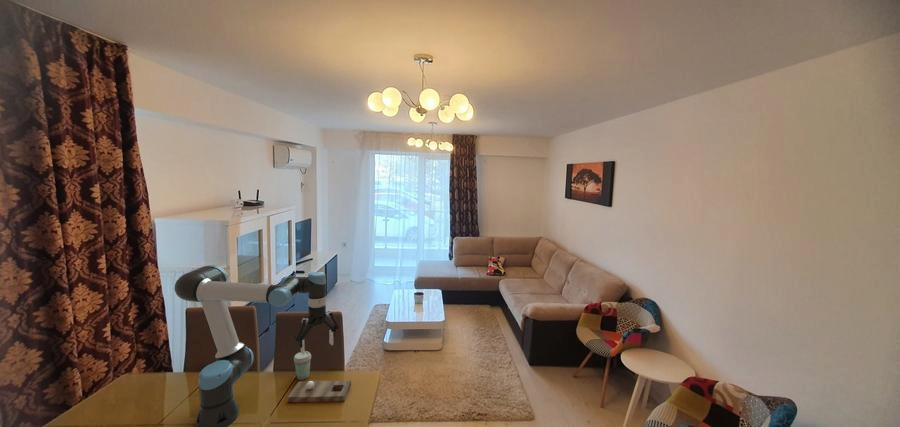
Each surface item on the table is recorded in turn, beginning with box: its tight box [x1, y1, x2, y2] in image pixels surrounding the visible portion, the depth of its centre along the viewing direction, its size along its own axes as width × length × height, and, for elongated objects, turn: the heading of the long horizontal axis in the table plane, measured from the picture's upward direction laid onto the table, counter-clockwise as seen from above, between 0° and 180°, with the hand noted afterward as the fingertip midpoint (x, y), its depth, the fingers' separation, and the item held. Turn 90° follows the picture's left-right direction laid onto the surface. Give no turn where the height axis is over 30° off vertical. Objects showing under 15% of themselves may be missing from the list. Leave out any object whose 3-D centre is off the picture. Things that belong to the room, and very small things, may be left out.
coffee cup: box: [293, 350, 312, 381], centre depth 171 cm, size 8×9×12 cm
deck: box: [287, 380, 352, 403], centre depth 158 cm, size 26×12×2 cm, turn 93°
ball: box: [306, 380, 314, 389], centre depth 157 cm, size 4×4×4 cm
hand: (317, 348), depth 154 cm, fingers open, 13 cm apart
